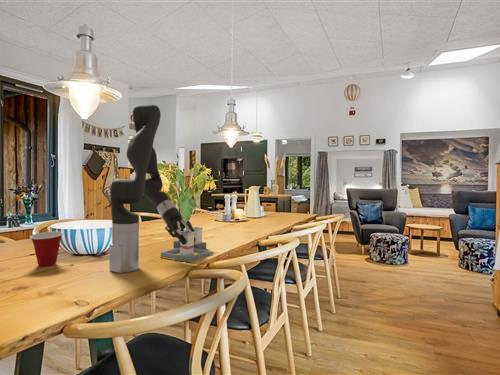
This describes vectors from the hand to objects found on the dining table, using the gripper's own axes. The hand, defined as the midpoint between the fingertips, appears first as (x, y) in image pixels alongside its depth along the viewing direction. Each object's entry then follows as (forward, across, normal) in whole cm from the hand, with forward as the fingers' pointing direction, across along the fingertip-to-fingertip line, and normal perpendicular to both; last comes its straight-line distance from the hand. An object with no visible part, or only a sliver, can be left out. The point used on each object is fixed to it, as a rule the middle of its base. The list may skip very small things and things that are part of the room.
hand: (189, 242), depth 140 cm
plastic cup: (-22, -38, +32) cm, 54 cm away
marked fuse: (+3, 0, +5) cm, 6 cm away
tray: (+3, 0, +6) cm, 7 cm away
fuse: (0, +12, +8) cm, 14 cm away
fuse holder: (-2, +12, +12) cm, 17 cm away
